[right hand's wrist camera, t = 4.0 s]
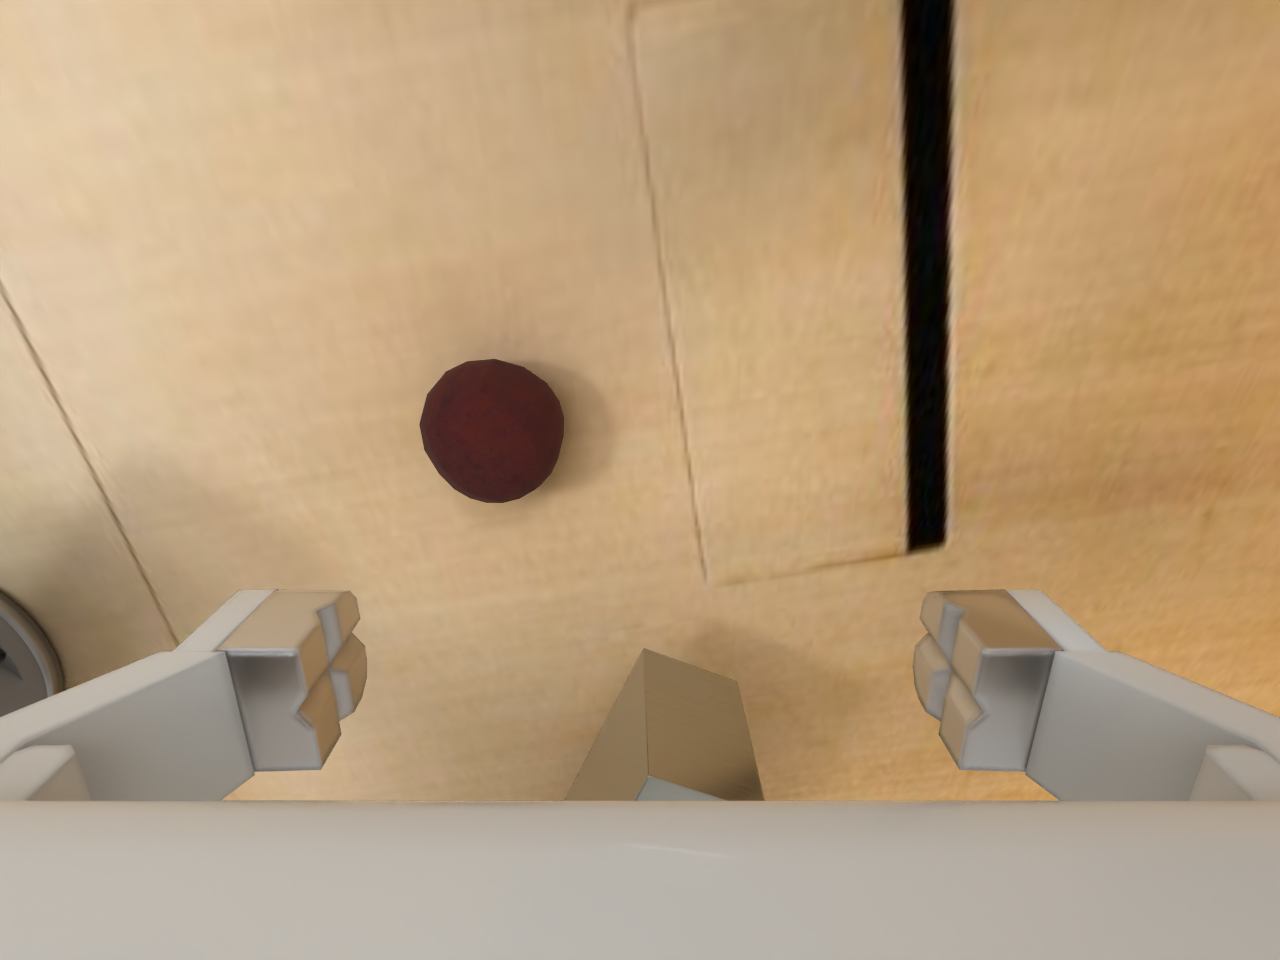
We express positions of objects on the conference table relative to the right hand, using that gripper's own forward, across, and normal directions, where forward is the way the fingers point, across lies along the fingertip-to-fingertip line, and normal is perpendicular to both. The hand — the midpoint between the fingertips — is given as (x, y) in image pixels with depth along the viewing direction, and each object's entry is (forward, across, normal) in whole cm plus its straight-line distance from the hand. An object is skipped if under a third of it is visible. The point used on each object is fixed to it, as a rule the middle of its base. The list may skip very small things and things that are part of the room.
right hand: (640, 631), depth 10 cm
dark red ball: (+31, -8, -5) cm, 33 cm away
